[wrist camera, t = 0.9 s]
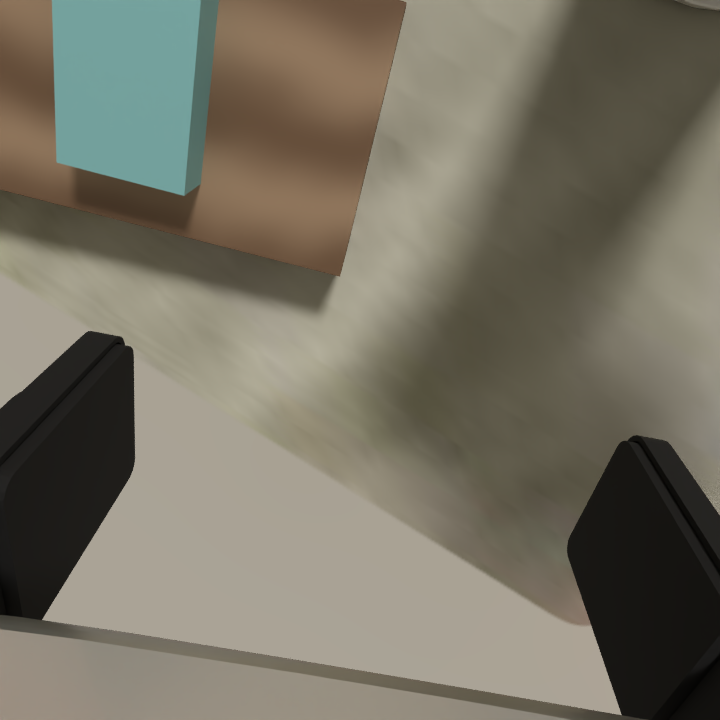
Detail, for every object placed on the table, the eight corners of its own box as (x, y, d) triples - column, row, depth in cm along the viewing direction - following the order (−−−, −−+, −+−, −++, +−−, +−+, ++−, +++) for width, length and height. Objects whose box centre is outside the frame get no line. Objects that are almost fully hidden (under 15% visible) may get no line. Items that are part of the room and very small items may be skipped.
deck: (-48, -125, 26) (-116, -150, 23) (405, 7, 28) (406, 2, 24) (-20, 157, 33) (-71, 171, 29) (346, 252, 34) (339, 276, 31)
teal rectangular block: (81, -64, 24) (49, -74, 22) (221, -23, 24) (203, -30, 22) (83, 153, 28) (56, 162, 26) (200, 184, 29) (184, 195, 26)
